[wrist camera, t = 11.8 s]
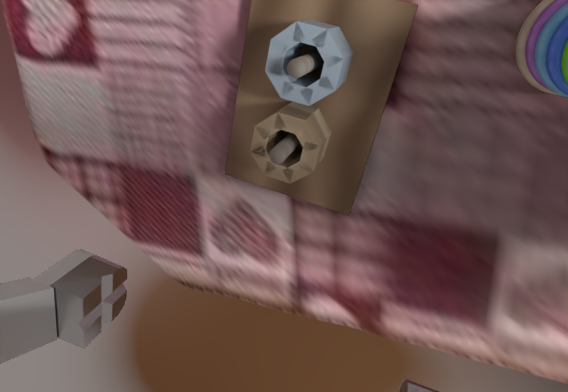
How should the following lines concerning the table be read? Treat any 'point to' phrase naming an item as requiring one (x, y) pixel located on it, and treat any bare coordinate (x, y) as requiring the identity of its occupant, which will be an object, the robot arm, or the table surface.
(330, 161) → the gear board
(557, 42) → the stacking toy
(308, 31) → the loose gear
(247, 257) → the table surface
